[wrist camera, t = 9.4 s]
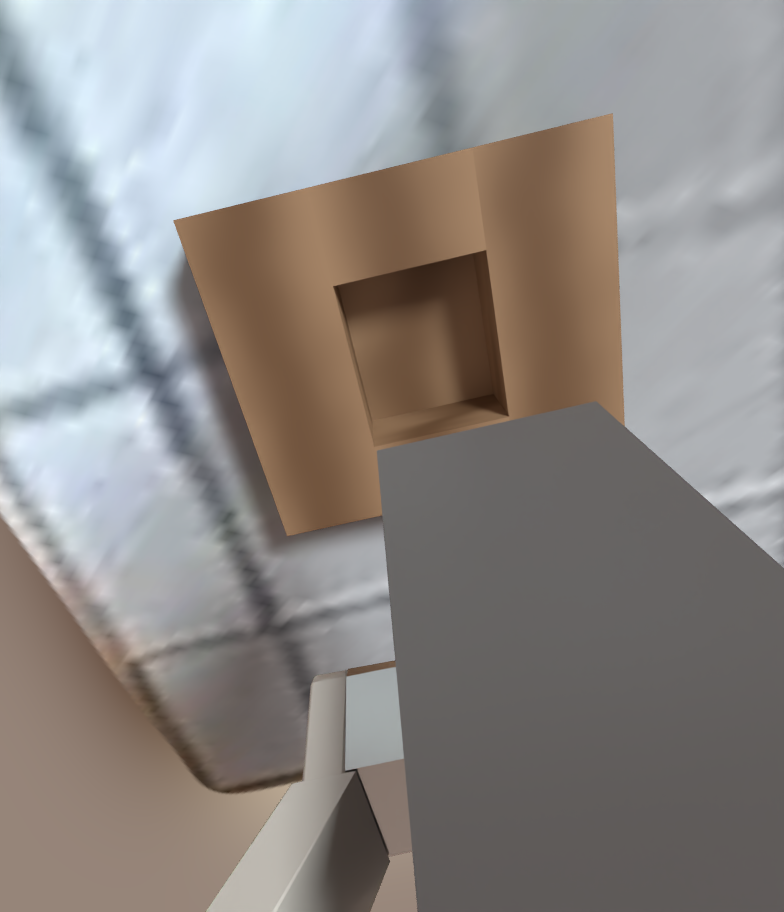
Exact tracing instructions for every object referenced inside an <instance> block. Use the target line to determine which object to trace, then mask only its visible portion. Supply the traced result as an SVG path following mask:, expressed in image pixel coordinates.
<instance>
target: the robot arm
mask: <svg viewBox="0 0 784 912" xmlns="http://www.w3.org/2000/svg"><path fill="white" fill-rule="evenodd" d="M408 852H412V842H411V831H410V819H409V808H408V797H407V786H406V775H405V763H404V752H403V741H402V730H401V719H400V707H399V696H398V685H397V674H396V663H395V661H390V662H384V663H379V664H373V665H368V666H362V667H357V668H351V669H348V670H344V671H339V672H333V673H328V674H322V675H317V676H315V677H314V679H313V682H312V684H311V689H310V700H309V712H308V723H307V735H306V746H305V757H304V769H303V780H302V781H301V782H297V783H293V784H291V786H290V787H289V789H288V790H287V792H286V793H285V795H284V796H283V797H282V799H281V800H280V802H279V803H278V805H277V806H276V808H275V809H274V811H273V812H272V814H271V815H270V817H269V818H268V820H267V821H266V823H265V824H264V826H263V827H262V829H261V830H260V832H259V833H258V835H257V836H256V837H255V839H254V840H253V842H252V843H251V845H250V846H249V848H248V849H247V851H246V852H245V854H244V855H243V857H242V858H241V860H240V862H239V863H238V864H237V866H236V867H235V869H234V870H233V872H232V873H231V875H230V876H229V878H228V879H227V880H226V882H225V884H224V885H223V886H222V888H221V889H220V891H219V892H218V894H217V895H216V897H215V898H214V900H213V901H212V903H211V904H210V906H209V907H208V909H207V910H206V912H370V911H371V908H372V905H373V903H374V900H375V898H376V895H377V893H378V890H379V888H380V885H381V883H382V880H383V877H384V875H385V873H386V870H387V867H388V865H389V862H390V860H389V858H388V857H390V856H395V855H399V854H403V853H408Z"/></svg>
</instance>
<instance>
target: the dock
mask: <svg viewBox="0 0 784 912" xmlns="http://www.w3.org/2000/svg"><path fill="white" fill-rule="evenodd" d="M173 221H174V224H175V227H176V229H177V232H178V235H179V238H180V240H181V243H182V246H183V249H184V251H185V254H186V257H187V260H188V263H189V265H190V268H191V271H192V274H193V276H194V279H195V282H196V285H197V288H198V290H199V293H200V296H201V299H202V301H203V304H204V307H205V310H206V312H207V315H208V318H209V321H210V324H211V326H212V329H213V332H214V335H215V337H216V340H217V343H218V346H219V349H220V351H221V354H222V357H223V360H224V362H225V365H226V368H227V371H228V373H229V376H230V379H231V382H232V385H233V387H234V390H235V393H236V396H237V398H238V401H239V404H240V407H241V409H242V412H243V415H244V418H245V421H246V423H247V426H248V429H249V432H250V434H251V437H252V440H253V443H254V446H255V448H256V451H257V454H258V457H259V459H260V462H261V465H262V468H263V470H264V473H265V476H266V479H267V482H268V484H269V487H270V490H271V493H272V495H273V498H274V501H275V504H276V507H277V509H278V512H279V515H280V518H281V520H282V523H283V526H284V529H285V531H286V534H287V536H290V535H295V534H300V533H304V532H309V531H313V530H318V529H322V528H327V527H332V526H336V525H341V524H345V523H350V522H354V521H359V520H363V519H368V518H373V517H377V516H382V506H381V494H380V483H379V472H378V461H377V450H382V449H386V448H391V447H395V446H400V445H404V444H408V443H413V442H417V441H422V440H426V439H431V438H435V437H439V436H444V435H448V434H453V433H457V432H462V431H466V430H471V429H475V428H479V427H484V426H488V425H493V424H497V423H502V422H506V421H510V420H515V419H519V418H524V417H528V416H533V415H537V414H541V413H546V412H550V411H555V410H559V409H564V408H568V407H573V406H577V405H581V404H586V403H590V402H595V401H597V402H598V403H599V404H600V405H601V406H602V407H603V408H604V409H606V410H607V411H608V412H609V413H610V414H611V415H612V416H613V417H614V418H616V419H617V420H618V421H619V422H620V423H621V424H622V425H623V426H625V425H624V398H623V372H622V345H621V319H620V292H619V266H618V239H617V213H616V187H615V160H614V134H613V113H612V114H608V115H604V116H600V117H596V118H592V119H588V120H584V121H579V122H575V123H571V124H567V125H563V126H559V127H555V128H551V129H547V130H543V131H538V132H534V133H530V134H526V135H522V136H518V137H514V138H510V139H506V140H502V141H497V142H493V143H489V144H485V145H481V146H477V147H473V148H469V149H465V150H461V151H456V152H452V153H448V154H444V155H440V156H436V157H432V158H428V159H424V160H420V161H415V162H411V163H407V164H403V165H399V166H395V167H391V168H387V169H383V170H378V171H374V172H370V173H366V174H362V175H358V176H354V177H350V178H346V179H342V180H337V181H333V182H329V183H325V184H321V185H317V186H313V187H309V188H305V189H301V190H296V191H292V192H288V193H284V194H280V195H276V196H272V197H268V198H264V199H260V200H255V201H251V202H247V203H243V204H239V205H235V206H231V207H227V208H223V209H219V210H214V211H210V212H206V213H202V214H198V215H194V216H190V217H186V218H182V219H177V220H173Z"/></svg>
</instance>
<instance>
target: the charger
mask: <svg viewBox="0 0 784 912" xmlns="http://www.w3.org/2000/svg"><path fill="white" fill-rule="evenodd" d="M377 461H378V472H379V483H380V494H381V506H382V517H383V528H384V539H385V550H386V562H387V573H388V584H389V595H390V606H391V618H392V629H393V640H394V651H395V663H396V674H397V685H398V696H399V707H400V719H401V730H402V741H403V752H404V763H405V775H406V786H407V797H408V808H409V819H410V831H411V842H412V853H413V863H414V876H415V886H416V898H417V909H418V912H784V568H783V567H782V566H781V565H780V564H778V563H777V562H776V561H775V560H774V559H773V558H772V557H771V556H769V555H768V554H767V553H766V552H765V551H764V550H763V549H762V548H760V547H759V546H758V545H757V544H756V543H755V542H754V541H753V540H751V539H750V538H749V537H748V536H747V535H746V534H745V533H744V532H742V531H741V530H740V529H739V528H738V527H737V526H736V525H735V524H733V523H732V522H731V521H730V520H729V519H728V518H727V517H726V516H725V515H723V514H722V513H721V512H720V511H719V510H718V509H717V508H716V507H714V506H713V505H712V504H711V503H710V502H709V501H708V500H707V499H705V498H704V497H703V496H702V495H701V494H700V493H699V492H698V491H696V490H695V489H694V488H693V487H692V486H691V485H690V484H689V483H687V482H686V481H685V480H684V479H683V478H682V477H681V476H680V475H678V474H677V473H676V472H675V471H674V470H673V469H672V468H671V467H670V466H668V465H667V464H666V463H665V462H664V461H663V460H662V459H661V458H659V457H658V456H657V455H656V454H655V453H654V452H653V451H652V450H650V449H649V448H648V447H647V446H646V445H645V444H644V443H643V442H641V441H640V440H639V439H638V438H637V437H636V436H635V435H634V434H632V433H631V432H630V431H629V430H628V429H627V428H626V427H625V426H623V425H622V424H621V423H620V422H619V421H618V420H617V419H616V418H614V417H613V416H612V415H611V414H610V413H609V412H608V411H607V410H606V409H604V408H603V407H602V406H601V405H600V404H599V403H598V402H597V401H595V402H590V403H586V404H581V405H577V406H573V407H568V408H564V409H559V410H555V411H550V412H546V413H541V414H537V415H533V416H528V417H524V418H519V419H515V420H510V421H506V422H502V423H497V424H493V425H488V426H484V427H479V428H475V429H471V430H466V431H462V432H457V433H453V434H448V435H444V436H439V437H435V438H431V439H426V440H422V441H417V442H413V443H408V444H404V445H400V446H395V447H391V448H386V449H382V450H377Z"/></svg>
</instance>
